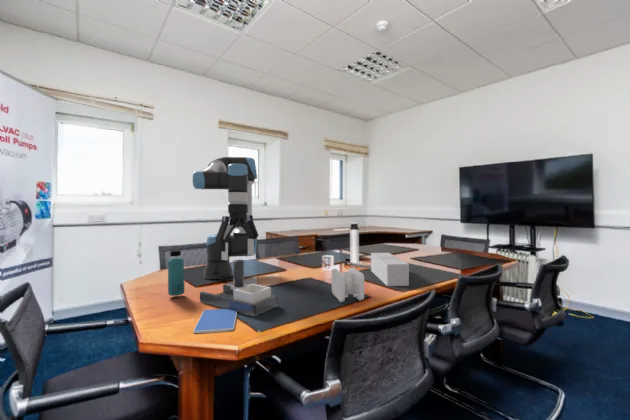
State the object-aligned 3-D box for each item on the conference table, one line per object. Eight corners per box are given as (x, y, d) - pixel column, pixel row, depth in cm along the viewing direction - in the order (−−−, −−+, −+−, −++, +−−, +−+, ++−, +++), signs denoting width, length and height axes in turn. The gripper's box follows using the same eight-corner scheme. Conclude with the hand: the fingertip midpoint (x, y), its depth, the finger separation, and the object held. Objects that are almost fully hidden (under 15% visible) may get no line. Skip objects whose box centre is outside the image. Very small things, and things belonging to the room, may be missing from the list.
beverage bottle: (178, 299, 126) (177, 252, 125) (164, 298, 127) (163, 251, 127) (187, 295, 132) (187, 249, 132) (174, 294, 134) (173, 249, 133)
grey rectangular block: (370, 271, 178) (371, 252, 178) (388, 270, 179) (388, 252, 179) (387, 286, 146) (387, 264, 146) (408, 286, 147) (409, 264, 147)
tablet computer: (203, 312, 113) (203, 309, 113) (238, 310, 115) (238, 307, 115) (192, 335, 94) (192, 331, 94) (234, 332, 96) (234, 328, 96)
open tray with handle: (244, 296, 126) (244, 258, 125) (271, 302, 118) (270, 261, 118) (225, 303, 118) (225, 262, 117) (252, 310, 110) (252, 266, 109)
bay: (225, 293, 135) (225, 284, 134) (277, 306, 118) (277, 296, 118) (200, 301, 124) (200, 292, 124) (253, 317, 107) (253, 306, 107)
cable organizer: (330, 293, 135) (330, 267, 135) (353, 291, 138) (353, 266, 137) (340, 304, 121) (340, 275, 120) (365, 302, 123) (365, 274, 123)
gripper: (253, 203, 132) (253, 252, 132) (205, 203, 111) (205, 261, 111) (266, 203, 128) (266, 253, 128) (218, 203, 107) (219, 263, 107)
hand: (238, 257), depth 120 cm, fingers open, 13 cm apart
